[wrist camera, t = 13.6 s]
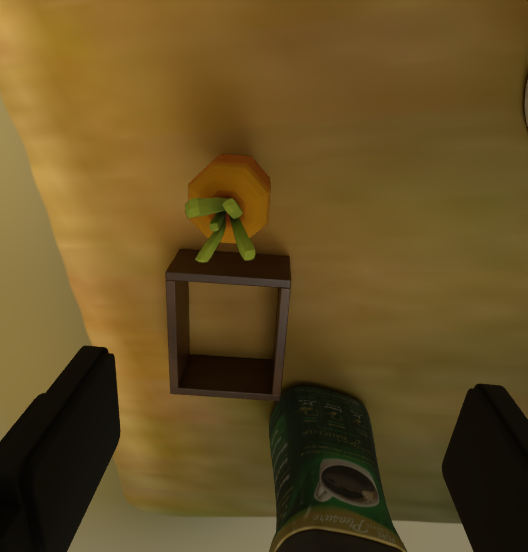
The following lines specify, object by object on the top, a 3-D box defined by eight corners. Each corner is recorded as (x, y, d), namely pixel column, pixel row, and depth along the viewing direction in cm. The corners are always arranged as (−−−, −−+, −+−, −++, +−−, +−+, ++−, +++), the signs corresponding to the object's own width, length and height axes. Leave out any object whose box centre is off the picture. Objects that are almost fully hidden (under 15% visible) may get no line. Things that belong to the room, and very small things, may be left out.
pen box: (179, 248, 36) (165, 271, 31) (289, 256, 36) (291, 280, 31) (182, 359, 40) (170, 394, 36) (279, 366, 40) (279, 401, 36)
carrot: (282, 191, 34) (285, 262, 20) (225, 210, 34) (188, 291, 21) (262, 129, 32) (249, 159, 18) (202, 151, 32) (145, 196, 19)
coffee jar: (260, 431, 44) (249, 648, 27) (286, 373, 41) (291, 576, 24) (347, 455, 45) (389, 679, 28) (378, 399, 42) (447, 613, 25)
